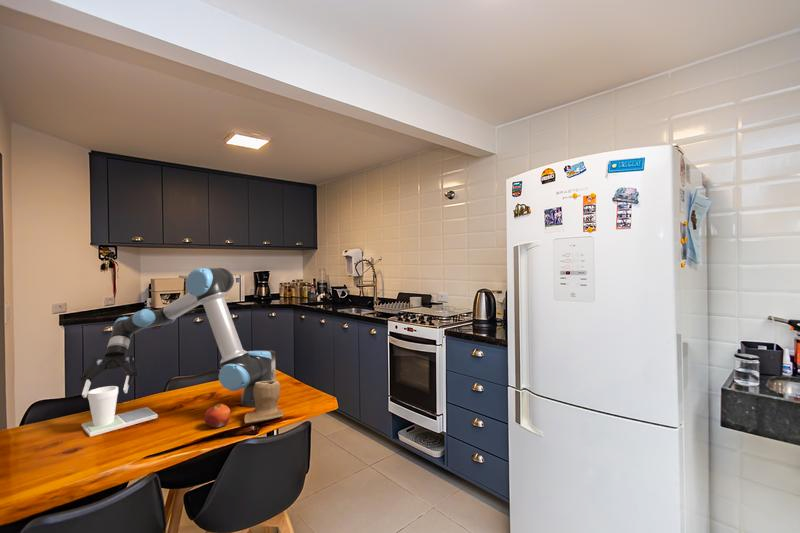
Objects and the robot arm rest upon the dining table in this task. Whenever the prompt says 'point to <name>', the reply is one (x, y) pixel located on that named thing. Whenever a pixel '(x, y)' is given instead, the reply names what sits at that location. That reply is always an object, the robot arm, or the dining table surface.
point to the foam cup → (103, 404)
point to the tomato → (217, 415)
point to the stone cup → (265, 402)
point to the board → (121, 421)
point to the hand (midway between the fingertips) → (104, 394)
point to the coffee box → (273, 364)
